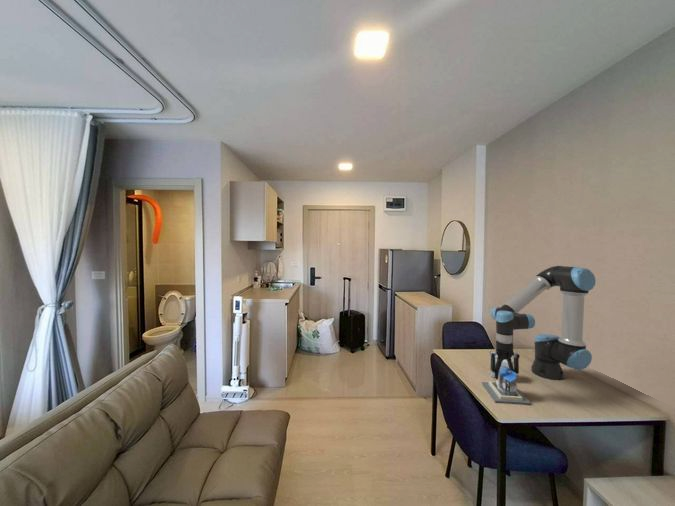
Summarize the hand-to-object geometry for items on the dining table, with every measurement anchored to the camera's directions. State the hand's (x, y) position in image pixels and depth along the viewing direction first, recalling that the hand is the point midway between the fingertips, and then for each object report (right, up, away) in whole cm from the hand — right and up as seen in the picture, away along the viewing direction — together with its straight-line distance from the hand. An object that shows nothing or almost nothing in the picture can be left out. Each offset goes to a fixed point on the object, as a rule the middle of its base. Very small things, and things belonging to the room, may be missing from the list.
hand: (504, 385), depth 140 cm
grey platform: (0, -4, 0) cm, 4 cm away
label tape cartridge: (0, -4, -1) cm, 4 cm away
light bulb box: (+9, -4, +17) cm, 20 cm away
